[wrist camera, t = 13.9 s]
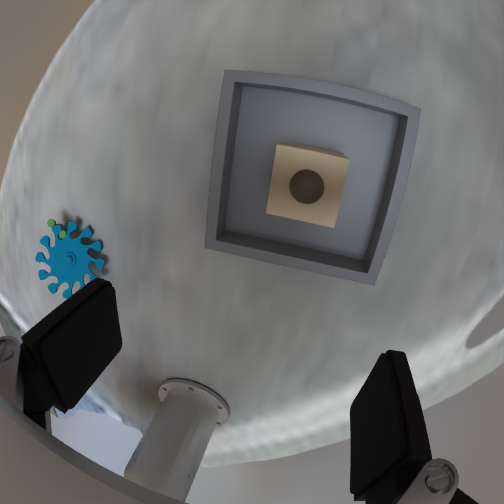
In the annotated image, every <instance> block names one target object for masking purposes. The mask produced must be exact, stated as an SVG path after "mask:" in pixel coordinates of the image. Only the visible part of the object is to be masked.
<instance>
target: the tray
mask: <svg viewBox="0 0 504 504" xmlns="http://www.w3.org/2000/svg"><path fill="white" fill-rule="evenodd" d="M420 113H421V109H420V108H417V107H414V106H412V105H409V104H406V103H403V102H400V101H397V100H394V99H390V98H387V97H384V96H380V95H377V94H373V93H370V92H366V91H362V90H358V89H354V88H350V87H346V86H342V85H337V84H332V83H328V82H323V81H317V80H312V79H306V78H300V77H293V76H286V75H279V74H271V73H261V72H251V71H237V70H224V77H223V83H222V90H221V97H220V104H219V112H218V119H217V127H216V135H215V144H214V152H213V161H212V170H211V180H210V190H209V201H208V212H207V223H206V236H205V248H208V249H212V250H217V251H221V252H226V253H230V254H234V255H239V256H243V257H248V258H252V259H257V260H261V261H266V262H270V263H275V264H279V265H284V266H288V267H293V268H297V269H302V270H306V271H311V272H315V273H320V274H324V275H329V276H333V277H338V278H343V279H347V280H352V281H356V282H361V283H365V284H370V285H375V282H376V280H377V277H378V274H379V272H380V269H381V266H382V263H383V260H384V257H385V254H386V251H387V248H388V245H389V242H390V239H391V236H392V233H393V230H394V226H395V223H396V220H397V216H398V213H399V209H400V205H401V202H402V198H403V194H404V190H405V187H406V183H407V178H408V174H409V170H410V166H411V161H412V156H413V152H414V147H415V142H416V136H417V131H418V125H419V119H420ZM283 142H292V143H297V144H302V145H307V146H312V147H317V148H322V149H326V150H331V151H335V152H340V153H343V154H344V155H345V156H346V157H347V158H349V159H350V161H349V166H348V171H347V175H346V180H345V185H344V189H343V193H342V198H341V202H340V206H339V211H338V215H337V219H336V223H335V227H334V228H331V227H327V226H322V225H318V224H314V223H309V222H304V221H300V220H295V219H291V218H286V217H281V216H276V215H271V214H266V209H267V203H268V196H269V190H270V184H271V178H272V171H273V165H274V159H275V153H276V146H277V144H280V143H283Z"/></svg>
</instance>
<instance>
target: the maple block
mask: <svg viewBox="0 0 504 504" xmlns="http://www.w3.org/2000/svg"><path fill="white" fill-rule="evenodd" d="M349 161H350V159H349V158H347V157H346V156H345V155H344V154H343V153H340V152H335V151H331V150H326V149H322V148H317V147H312V146H307V145H302V144H297V143H292V142H283V143H280V144H277V146H276V153H275V159H274V165H273V171H272V178H271V184H270V190H269V196H268V203H267V209H266V214H271V215H276V216H281V217H286V218H291V219H295V220H300V221H304V222H309V223H314V224H318V225H322V226H327V227H331V228H334V227H335V223H336V219H337V215H338V211H339V206H340V202H341V198H342V193H343V189H344V185H345V180H346V175H347V171H348V166H349Z"/></svg>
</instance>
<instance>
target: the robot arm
mask: <svg viewBox="0 0 504 504" xmlns="http://www.w3.org/2000/svg"><path fill="white" fill-rule="evenodd" d="M21 338H22V341H23V343H22V344H21V345H20V343H19V341H18V340H17V339H16V338H14V337H12V336H2V337H0V504H188V503H185V500H186V497H187V495H188V493H189V490H190V488H191V485H192V483H193V480H194V478H195V475H196V473H197V470H198V468H199V465H200V463H201V460H202V458H203V455H204V453H205V450H206V448H207V445H208V443H209V440H210V438H211V435H212V432H213V430H214V427H217V426H221V425H223V424H224V423H225V422H226V421H227V419H228V417H229V408H228V406H227V404H226V403H225V402H224V400H223V399H222V398H221V397H220V396H218V395H217V394H216V393H214V392H213V391H212V390H210V389H208V388H206V387H204V386H202V385H200V384H198V383H195V382H192V381H188V380H183V379H170V380H167V381H165V382H163V383H162V384H161V386H160V388H159V390H158V395H159V398H160V401H161V402H162V403H161V405H160V407H159V409H158V410H157V412H156V414H155V416H154V417H153V419H152V421H151V423H150V425H149V426H148V428H147V430H146V432H145V433H144V435H143V437H142V439H141V441H140V442H139V444H138V446H137V448H136V449H135V451H134V453H133V455H132V457H131V459H130V460H129V462H128V464H127V466H126V468H125V471H124V477H122V476H120V475H118V474H116V473H114V472H112V471H110V470H108V469H106V468H104V467H103V466H101V465H99V464H97V463H95V462H94V461H92V460H90V459H88V458H87V457H85V456H83V455H82V454H80V453H78V452H77V451H75V450H74V449H72V448H71V447H69V446H67V445H66V444H64V443H63V442H61V441H60V440H59V439H57V438H55V437H54V436H53V435H52V430H51V419H50V418H51V417H50V408H51V407H52V406H53V405H54V407H55V408H57V409H58V410H60V411H61V412H63V413H64V414H65V413H66V412H67V411H68V409H72V408H74V407H75V405H76V404H77V403H78V402H79V400H80V399H81V398H82V397H83V395H84V394H85V393H86V392H87V390H88V389H89V388H90V387H91V385H92V384H93V383H94V382H95V380H96V379H97V378H98V377H99V376H100V374H101V373H102V372H103V371H104V369H105V368H106V367H107V366H108V365H109V363H110V362H111V361H112V360H113V359H114V357H115V356H116V355H117V354H118V353H119V351H120V350H121V347H122V338H121V332H120V325H119V318H118V311H117V303H116V295H115V289H114V287H112V284H111V282H109V281H106V280H104V279H101V278H94V279H93V280H92V281H90V282H89V283H88V284H86V285H85V286H84V287H82V288H81V289H80V290H78V291H77V292H76V293H75V294H73V295H72V296H71V297H69V298H68V299H67V300H66V301H64V302H63V303H62V304H61V305H59V306H58V307H57V308H56V309H54V310H53V311H52V312H51V313H49V314H48V315H47V316H46V317H44V318H43V319H42V320H41V321H40V322H38V323H37V324H36V325H35V326H34V327H32V328H31V329H30V330H29V331H28V332H27V333H25V334H24V335H23V336H22V337H21ZM350 431H351V468H350V492H351V494H354V501H366V504H478V503H477V502H476V501H475V500H473V499H472V498H470V497H469V496H468V495H466V494H465V493H464V492H462V491H461V490H460V489H458V488H457V486H458V482H459V475H458V471H457V469H456V468H455V466H454V465H453V464H452V463H451V462H449V461H447V460H445V459H440V458H437V459H432V455H431V450H430V445H429V439H428V434H427V430H426V425H425V421H424V416H423V412H422V408H421V404H420V400H419V396H418V394H417V392H416V389H415V385H414V381H413V378H412V374H411V371H410V367H409V364H408V361H407V357H406V354H405V353H404V352H401V351H394V350H388V351H386V353H385V354H384V353H382V354H381V355H380V356H379V358H378V360H377V362H376V364H375V366H374V367H373V369H372V371H371V373H370V374H369V376H368V378H367V380H366V381H365V383H364V385H363V386H362V388H361V390H360V391H359V393H358V395H357V396H356V398H355V399H354V401H353V403H352V405H351V408H350Z"/></svg>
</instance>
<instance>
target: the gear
mask: <svg viewBox="0 0 504 504" xmlns="http://www.w3.org/2000/svg"><path fill="white" fill-rule="evenodd" d="M47 224H48V226H49V227H51V228H52V231H53V233H54V235H55V246H54V247H53V248H51V247H50V238H49V237H48V236H44V237H43V238H42V239H41V240H40V243H41V244H42V245H44V246H45V247H46V248H47V249H48V251H49V254H50V258H49V259H48V260H47V259H46V258H45V256H44V254H43V253H42V252H38V253H37V255H36V259H35V260H36V261H37V262H45V263H46V264H48V265H49V266H50V267H51V272H50V273H48V272H47V271H45V270H39V278H40V280H44V279H46V278H47V277H49V276H56V277H57V278H58V283H57V284H54V283H52V284H50V285H49V286H48V289H49V291H50V292H51V293H52V294H54V293H56V292H57V290H58V287H59V286H60V285H61V284H62V283H64V282H67V283H68V284H69V288H68V289H67V290H65V291H64V292H63V297H64V298H66V299H68V298H69V297H71V296H72V287H73V285H74V283H75V282H76V281H79V282H80V284H81V287H80V288H79V290H80V289H81V288H82V287H84V286H85V284H84V275H85V274H86V273H88V274H89V275H90V277H91V278H90V281H92V280H93V279H94V278H99V277H98V276H96V275H95V274H93V273H92V271H91V270H90V267H89V263H90V262H91V261H93V262H94V263H95V264H96V267H97V268H98V269H102V268H103V266H104V263H105V261H104V260H103V259H95V258H92V257H91V256H90V255H89V254H88V250H89V249H90V248H93V249H94V250H95V251H101V249H102V247H101V242H100V241H96V242H94V243H93V244H91V245H83V244H82V243H81V239H82V238H83V237H87V238H89V237H91V236H92V232H91V230H90V229H89V228H88V227H86V228H84V230H83V232H82V233H81V235H80V236H79V237H77V238H75V239H72V238H71V233H72V232H74V231H76V230H77V228H78V225H77V224H75V223H73V222H69V223H68V232H66V229H65V227H64V226H63V225H62V224H56V221H55V220H53V219H49V220H48V222H47Z"/></svg>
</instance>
